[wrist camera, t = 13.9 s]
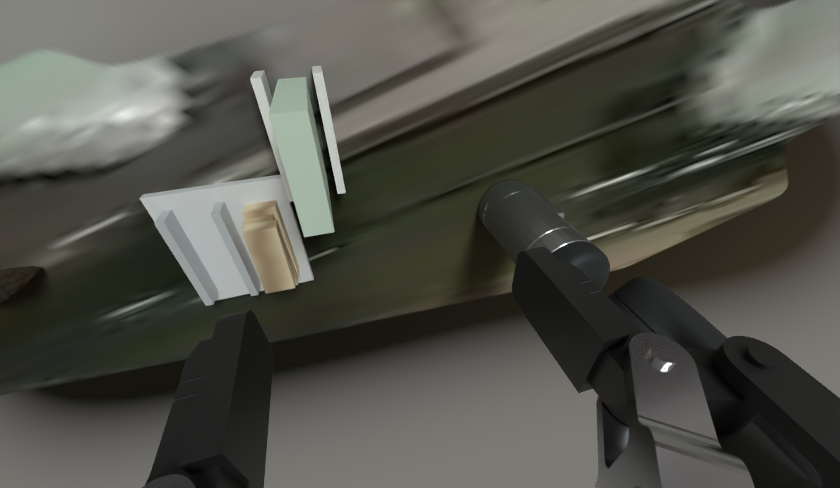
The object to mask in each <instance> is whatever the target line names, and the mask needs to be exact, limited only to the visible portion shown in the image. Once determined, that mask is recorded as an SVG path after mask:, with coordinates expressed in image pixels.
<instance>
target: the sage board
mask: <svg viewBox="0 0 840 488" xmlns="http://www.w3.org/2000/svg"><path fill="white" fill-rule="evenodd" d="M268 115H269V118H270V122H271V125H272V128H273V132H274V135H275V139H276V142H277V146H278V149H279V152H280V156H281V159H282V163H283V166H284V170H285V173H286V176H287V180H288V183H289V187H290V190H291V194H292V197H293V200H294V204H295V207H296V211H297V214H298V218H299V221H300V224H301V228H302V231H303V235H304V237H309V236H315V235H320V234H326V233H332V232H334V225H333V218H332V210H331V203H330V196H329V189H328V181H327V174H326V170H325V165H324V160H323V155H322V151H321V146H320V141H319V136H318V132H317V127H316V122H315V117H314V113H313V108H312V103H311V98H310V94H309V89H308V84H307V79H306V77H301V78H288V79H278V82H277V85H276V89H275V92H274V96H273V100H272V103H271V107H270V110H269V114H268Z"/></svg>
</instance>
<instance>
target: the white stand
mask: <svg viewBox="0 0 840 488" xmlns="http://www.w3.org/2000/svg"><path fill="white" fill-rule="evenodd" d="M312 73H313V78H314V83H315V87H316V92H317V97H318V102H319V107H320V111H321V116H322V121H323V126H324V130H325V135H326V140H327V145H328V150H329V154H330V159H331V164H332V169H333V173H334V178H335V183H336V188H337V193H338V194H341V193H346V192H345V187H344V182H343V176H342V171H341V166H340V161H339V156H338V150H337V145H336V140H335V135H334V130H333V124H332V119H331V114H330V109H329V104H328V98H327V93H326V88H325V83H324V78H323V72H322V69H321V66H312ZM250 80H251V83H252V86H253V89H254V92H255V96H256V99H257V102H258V105H259V108H260V111H261V115H262V118H263V121H264V124H265V127H266V130H267V134H268V137H269V140H270V143H271V146H272V149H273V153H274V156H275V159H276V162H277V165H278V168H279V171H280V175H281V178H282V181H283V184H284V187H285V190H286V194H287V197H288V200H289V202H292V201H294V200H293V197H292V194H291V190H290V187H289V183H288V180H287V176H286V173H285V170H284V166H283V163H282V159H281V156H280V152H279V149H278V146H277V142H276V139H275V135H274V132H273V128H272V125H271V122H270V118H269V115H268V114H269V110H270V107H271V103H272V100H273V99H272V95H271V92H270V89H269V85H268V82H267V78H266V75H265V71H254V73H253V75H252V76H251V78H250Z"/></svg>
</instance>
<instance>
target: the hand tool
mask: <svg viewBox="0 0 840 488" xmlns="http://www.w3.org/2000/svg"><path fill="white" fill-rule="evenodd" d="M40 270H41V267H35V266H31V267H17V268H10V269H6V270H0V302H3V301H5V300H7V299H9V298H10V297H12V296H13V295H14V294H16V293H17V291H18V290H20V289H21V288H22V287H24V285H26V284H27V283H28V282H29V281H30V280H31V279H32V278H33V277H34V276H35V275H36V274H37V273H38V272H39V271H40Z"/></svg>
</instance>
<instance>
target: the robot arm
mask: <svg viewBox="0 0 840 488" xmlns="http://www.w3.org/2000/svg"><path fill="white" fill-rule="evenodd" d="M478 211H479V218H480V220H481V221H482V223H483V224H484V226H485V227H486V228H487V229H488V230H489V232H490V233H491V234H492V236H493V237H494V238H495V239H496V241H497V242H498V243H499V244H500V246H501V247H502V248H503V249H504V251H505V252H506V253H507V255H508V256H509V257H510V258H511V260H512V261H513V262H514V263H515V265H516V267H515V273H514V278H513V283H512V292H513V296H514V299H515V301H516V303H517V305H518V306H519V308H520V309H521V311H522V312H523V314H524V315H525V316H526V318H527V319H528V321H529V322H530V324H531V325H532V326H533V328H534V329H535V331H536V332H537V333H538V335H539V336H540V338H541V339H542V341H543V342H544V344H545V345H546V347H547V348H548V349H549V351H550V352H551V354H552V355H553V357H554V358H555V360H556V361H557V362H558V364H559V365H560V367H561V368H562V370H563V371H564V372H565V374H566V375H567V377H568V378H569V380H570V381H571V382H572V384H573V385H574V387H575V388H576V390H577V391H578V392H579V393H580V392H583V391H586V390H589V389H594V390H595V392H596V393H597V394H598V397H597V403H596V407H597V440H598V477H597V481H596V485H595V488H840V398H839V397H837V396H836V395H835V394H834V393H832V392H831V391H830V390H828V389H827V388H826V387H825V386H823V385H822V384H821V383H820V382H818V381H817V380H816V379H815V378H813V377H812V376H810V375H809V374H808V373H807V372H806V371H805V370H803V369H802V368H801V367H799V366H798V365H797V364H796V363H794V362H793V361H792V360H791V359H789V358H788V357H787V356H786V355H784V354H783V353H782V352H780V351H779V350H777V349H776V348H774V347H772V346H771V345H769V344H767V343H764V342H762V341H760V340H757V339H754V338H750V337H745V336H733V337H730V338H727V337H725V336H724V335H723V334H722V333H721V332H720V331H719V330H717V329H716V328H715V327H714V326H713V325H712V324H711V323H710V322H708V321H707V320H706V319H705V318H704V317H703V316H702V315H700V314H699V313H698V312H697V311H696V310H695V309H693V308H692V307H691V306H690V305H689V304H687V303H686V302H685V301H684V300H683V299H682V298H680V297H679V296H678V295H676V294H675V293H674V292H672V291H671V290H669V289H668V288H666V287H665V286H664V285H662V284H660V283H658V282H656V281H654V280H652V279H650V278H646V277H636V278H634V279H632V280H630V281H628V282H627V283H625V284H624V285H623V286H621V287H620V288H619V289H617V290H616V291H615V292H614V294H613V293H612V294H611V295H610V296H608V297H607V296H606V295H605V294H604V293H603V292H601V289H602V288H603V286H604V284H605V282H606V280H607V278H608V275H609V271H610V264H609V260H608V258H607V257H606V255H605V254H604V253H603V252H602V251H601V250H600V249H598V248H597V247H596V246H595V245H594V244H592V243H591V242H590V241H589V240H588V239H586V238H585V237H584V236H583V235H582V234H581V233H579V232H578V231H577V230H576V229H575V228H573V227H572V226H571V225H570V224H569V223H568V222H566V221H565V220H564V213H563V212H562V211H561V210H560V209H559V208H558V207H556V206H555V205H554V204H553V203H552V202H550V201H549V200H548V199H547V198H546V197H544V196H543V195H542V194H541V193H539V192H538V191H537V190H536V189H535V188H533V187H532V186H531V185H524V184H522V183H521V182H519V181H515V180H508V181H503V182H500V183H498V184H496V185H495V186H493V187H492V188H491V189H489V190H488V191H487V193H486V194H485V195H484V197H483V198H482V200H481V202H480V205H479V210H478ZM272 371H273V357H272V350H271V346H270V344H269V342H268V340H267V338H266V336H265V334H264V332H263V330H262V328H261V326H260V324H259V322H258V320H257V318H256V316H255V314H254V313H253V312H252V311H251V310H248V311H244V312H239V313H235V314H230V315H226V316H221V317H219V318H218V320H217V323H216V326H215V330H214V334H213V338H212V339H210V340H205V341H201V342H200V343H199V344H198V345H197V347H196V348H195V349H194V351H193V352H192V353H191V355H190V356H189V358H188V359H187V360H186V362H185V366H184V369H183V372H182V375H181V379H180V385H179V386H178V388H177V391H176V394H175V397H174V399H175V402H174V403H173V404H172V407H171V410H170V413H169V416H168V420H167V423H166V426H165V429H164V432H163V436H162V439H161V442H160V445H159V448H158V451H157V454H156V458H155V461H154V464H153V467H152V470H151V473H150V475H149V478H148V480H147V482H146V484H145V486H144V487H142V488H263V487H264V475H265V462H266V449H267V436H268V423H269V409H270V397H271V384H272Z"/></svg>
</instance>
